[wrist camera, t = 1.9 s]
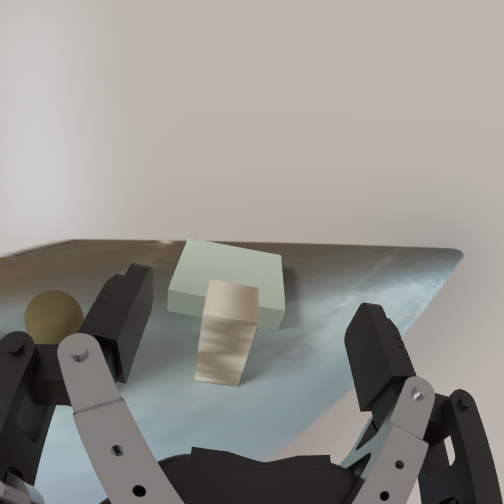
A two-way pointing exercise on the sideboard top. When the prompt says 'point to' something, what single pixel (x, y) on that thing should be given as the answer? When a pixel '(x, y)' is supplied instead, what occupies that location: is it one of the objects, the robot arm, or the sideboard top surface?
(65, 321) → the brown rounded piece
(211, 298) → the maple block
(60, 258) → the sideboard top surface
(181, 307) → the sage block
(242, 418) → the sideboard top surface
